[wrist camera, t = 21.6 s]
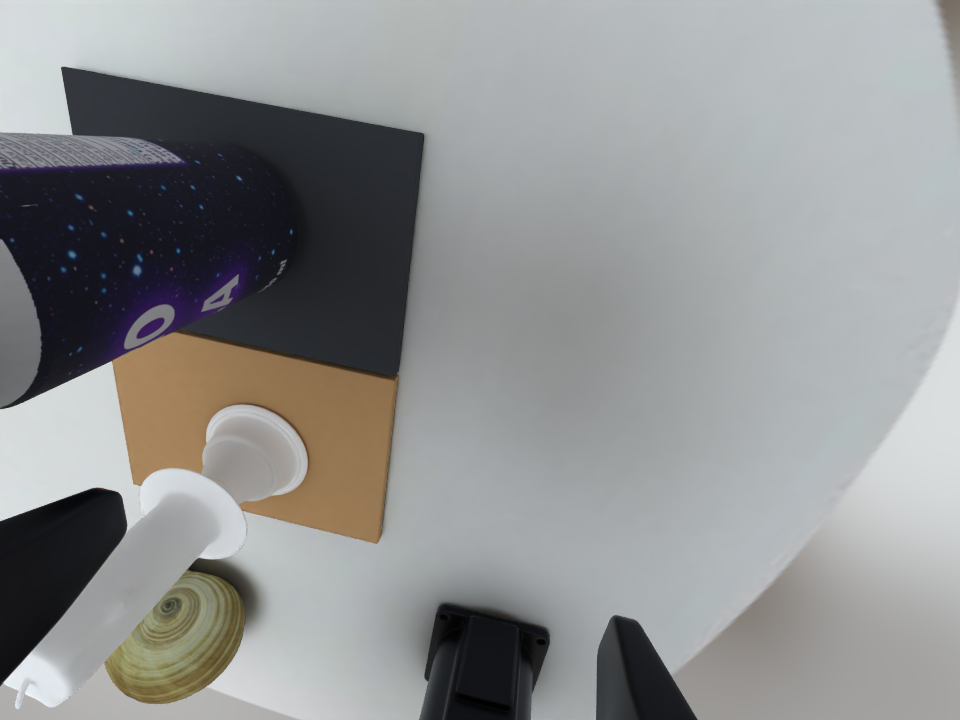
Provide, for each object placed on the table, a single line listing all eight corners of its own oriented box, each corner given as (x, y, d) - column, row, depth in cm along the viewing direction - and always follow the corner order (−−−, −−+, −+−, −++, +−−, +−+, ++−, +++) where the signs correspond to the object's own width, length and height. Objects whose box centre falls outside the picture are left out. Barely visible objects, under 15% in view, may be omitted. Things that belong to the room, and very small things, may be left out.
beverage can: (161, 240, 20) (-308, 343, 9) (197, 109, 18) (-372, 40, 7) (280, 312, 21) (-30, 490, 10) (330, 194, 18) (-3, 254, 7)
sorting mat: (381, 536, 26) (377, 544, 25) (141, 477, 27) (133, 484, 26) (424, 133, 18) (420, 133, 17) (74, 68, 18) (59, 66, 18)
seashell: (242, 586, 35) (261, 700, 30) (127, 627, 32) (124, 763, 27) (226, 506, 30) (245, 629, 25) (83, 545, 26) (69, 698, 21)
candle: (325, 487, 24) (135, 760, 13) (236, 498, 25) (-4, 756, 15) (284, 395, 22) (24, 625, 11) (190, 411, 24) (-126, 634, 13)
